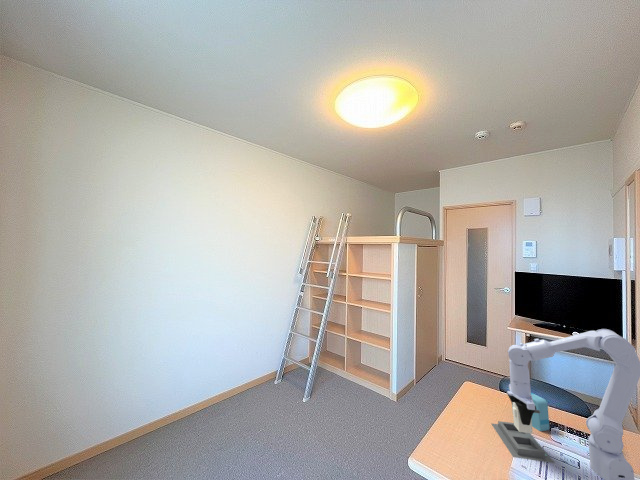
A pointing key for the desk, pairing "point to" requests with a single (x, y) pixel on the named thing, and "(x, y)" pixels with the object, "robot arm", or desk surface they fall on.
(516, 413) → the plug
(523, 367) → the robot arm
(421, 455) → the desk surface
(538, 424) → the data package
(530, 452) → the jack panel
